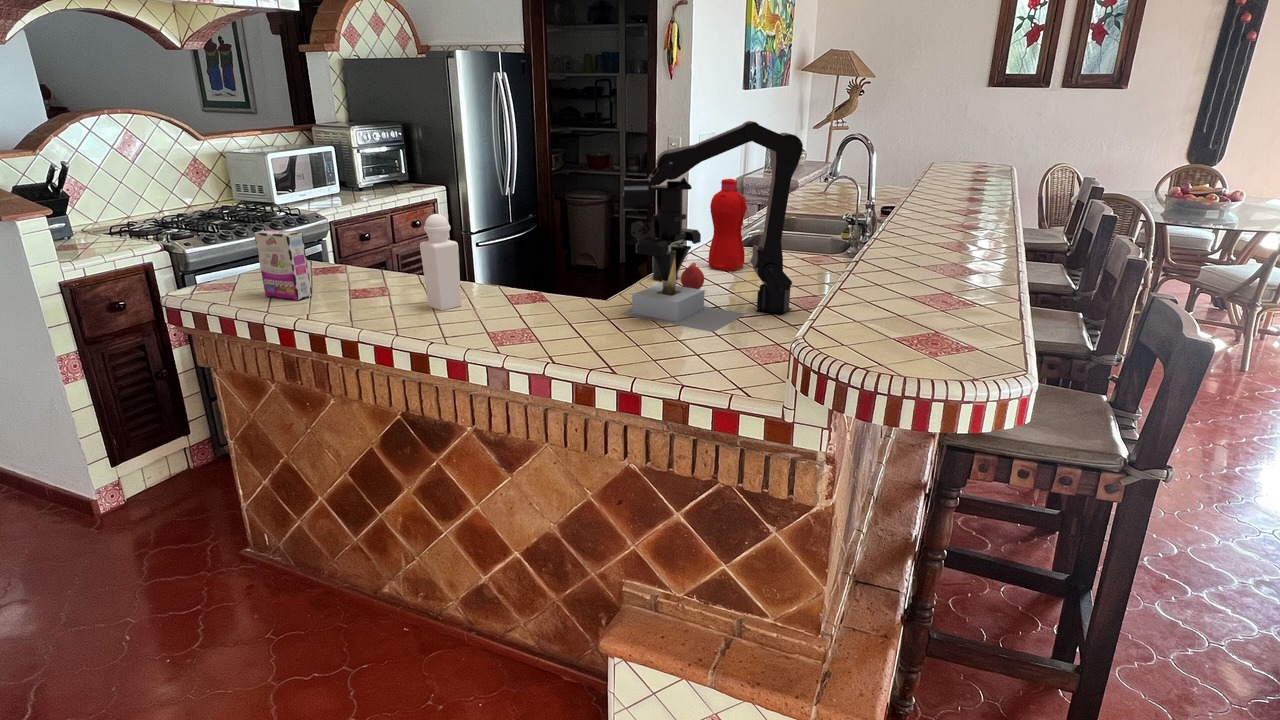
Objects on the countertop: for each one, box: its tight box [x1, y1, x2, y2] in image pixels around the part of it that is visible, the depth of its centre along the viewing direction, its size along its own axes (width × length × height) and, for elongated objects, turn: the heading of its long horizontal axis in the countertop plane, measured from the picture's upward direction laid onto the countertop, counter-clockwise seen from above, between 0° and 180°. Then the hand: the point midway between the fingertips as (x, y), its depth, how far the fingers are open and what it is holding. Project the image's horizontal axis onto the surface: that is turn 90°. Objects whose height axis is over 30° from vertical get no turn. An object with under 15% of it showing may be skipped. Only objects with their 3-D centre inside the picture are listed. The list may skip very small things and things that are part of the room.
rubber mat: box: [620, 305, 747, 333], centre depth 169 cm, size 24×16×1 cm, turn 56°
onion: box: [680, 261, 705, 290], centre depth 186 cm, size 6×6×8 cm
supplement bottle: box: [652, 256, 679, 282], centre depth 200 cm, size 7×7×12 cm
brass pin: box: [662, 250, 677, 296], centre depth 168 cm, size 3×3×10 cm
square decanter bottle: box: [419, 213, 462, 312], centre depth 174 cm, size 6×6×22 cm
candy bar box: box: [253, 229, 313, 301], centre depth 184 cm, size 11×5×16 cm, turn 68°
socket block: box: [631, 282, 705, 322], centre depth 170 cm, size 12×12×4 cm
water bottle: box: [707, 178, 750, 272], centre depth 209 cm, size 9×11×25 cm
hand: (669, 279), depth 168 cm, fingers closed on brass pin, 3 cm apart
